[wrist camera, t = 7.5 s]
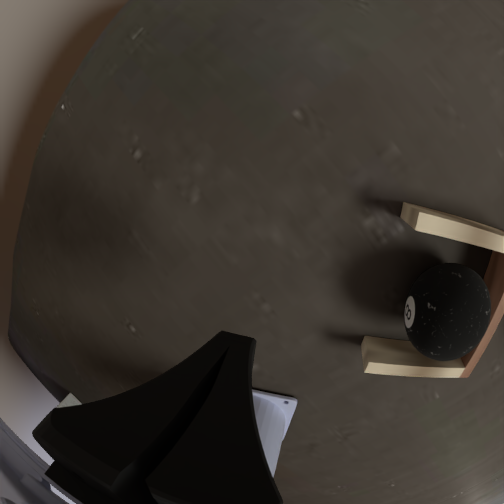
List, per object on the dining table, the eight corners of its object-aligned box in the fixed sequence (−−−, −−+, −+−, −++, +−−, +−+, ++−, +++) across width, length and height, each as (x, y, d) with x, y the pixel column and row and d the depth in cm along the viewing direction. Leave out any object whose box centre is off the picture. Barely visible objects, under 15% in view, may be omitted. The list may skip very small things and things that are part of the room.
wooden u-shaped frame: (360, 345, 19) (364, 372, 16) (403, 202, 15) (419, 211, 12) (456, 354, 17) (467, 377, 14) (506, 232, 13) (528, 245, 10)
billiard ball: (454, 324, 17) (482, 374, 11) (388, 325, 18) (404, 383, 12) (474, 252, 15) (518, 290, 9) (404, 247, 16) (436, 290, 10)
